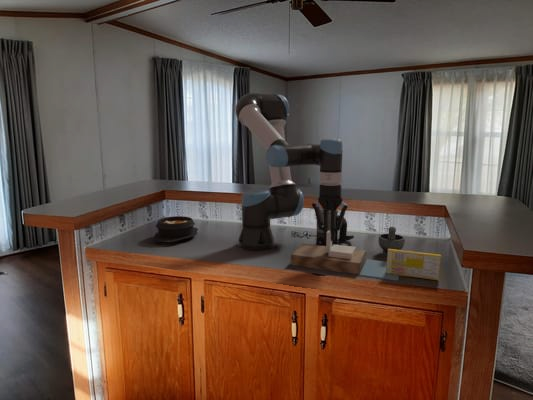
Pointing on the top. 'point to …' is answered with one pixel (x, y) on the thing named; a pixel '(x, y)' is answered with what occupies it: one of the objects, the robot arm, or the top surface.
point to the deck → (327, 259)
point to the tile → (342, 251)
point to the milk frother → (342, 233)
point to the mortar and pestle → (391, 241)
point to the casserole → (174, 229)
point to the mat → (377, 270)
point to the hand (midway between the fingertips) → (329, 249)
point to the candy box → (413, 264)
